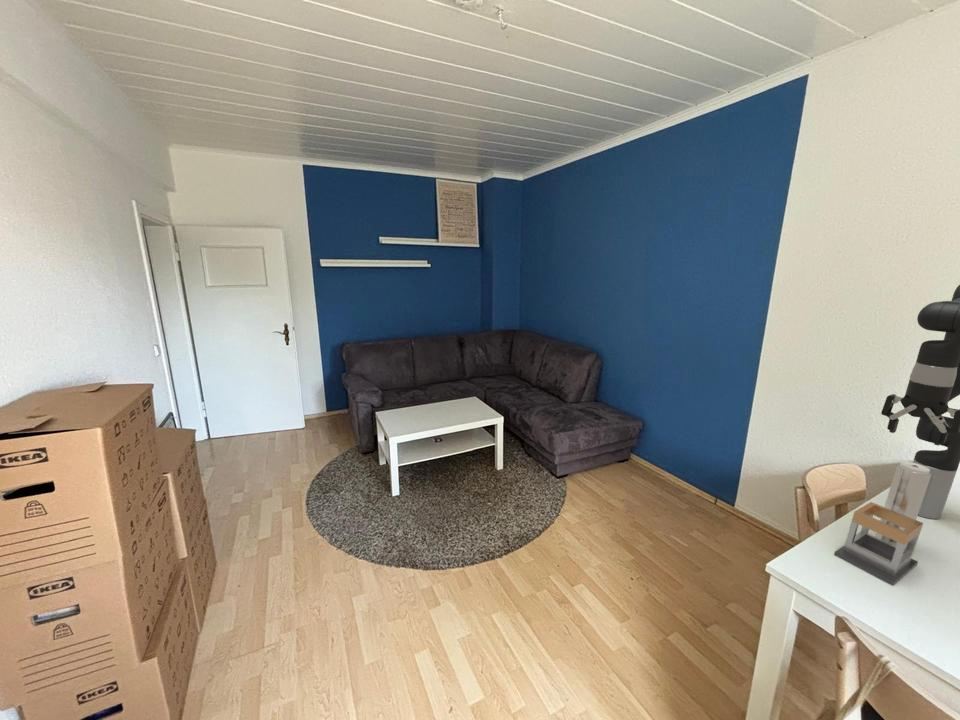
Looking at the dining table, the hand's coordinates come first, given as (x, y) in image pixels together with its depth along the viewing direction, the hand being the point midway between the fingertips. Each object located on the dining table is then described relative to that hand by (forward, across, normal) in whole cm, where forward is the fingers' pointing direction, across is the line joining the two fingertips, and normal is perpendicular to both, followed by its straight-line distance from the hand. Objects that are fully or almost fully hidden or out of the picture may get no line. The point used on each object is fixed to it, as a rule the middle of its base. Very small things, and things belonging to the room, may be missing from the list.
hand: (913, 438), depth 104 cm
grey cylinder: (+34, -1, -4) cm, 35 cm away
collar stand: (+34, -2, +10) cm, 35 cm away
